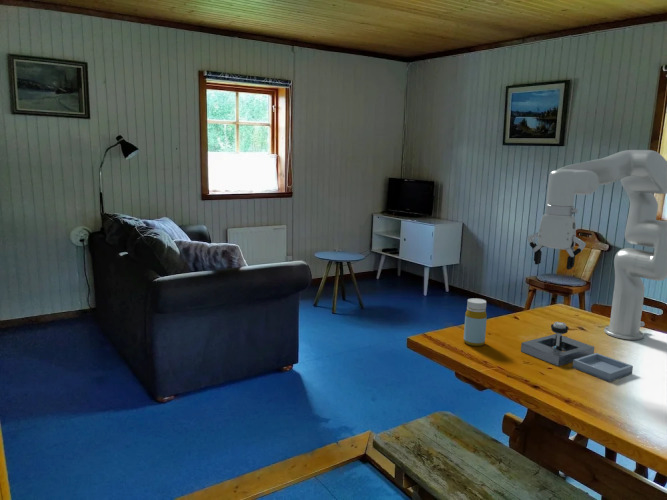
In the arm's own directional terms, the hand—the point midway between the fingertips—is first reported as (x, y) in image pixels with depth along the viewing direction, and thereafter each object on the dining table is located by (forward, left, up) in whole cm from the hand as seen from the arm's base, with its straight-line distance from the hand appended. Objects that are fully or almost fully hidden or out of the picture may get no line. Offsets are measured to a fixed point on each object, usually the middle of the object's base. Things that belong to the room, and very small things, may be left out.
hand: (553, 266), depth 161 cm
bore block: (-6, 0, -30) cm, 30 cm away
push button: (-6, 0, -30) cm, 31 cm away
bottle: (+11, -20, -30) cm, 38 cm away
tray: (-6, +16, -30) cm, 34 cm away
